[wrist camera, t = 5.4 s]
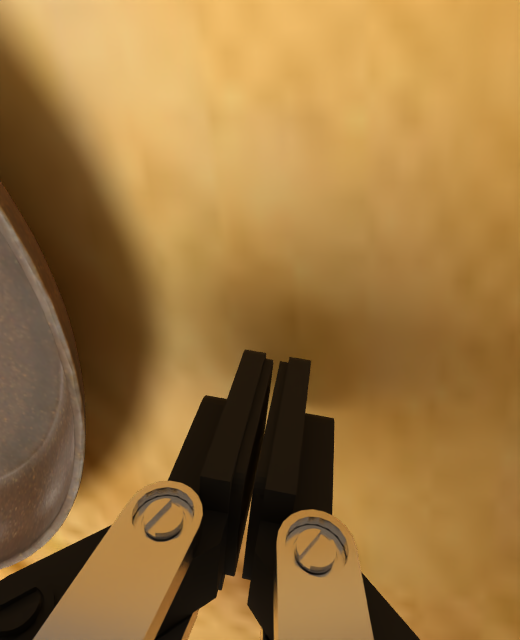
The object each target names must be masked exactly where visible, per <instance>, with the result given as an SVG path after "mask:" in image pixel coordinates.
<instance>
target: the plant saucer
mask: <svg viewBox="0 0 520 640" xmlns="http://www.w3.org/2000/svg"><path fill="white" fill-rule="evenodd" d="M85 438H86V421H85V398H84V387H83V380H82V372H81V367H80V362H79V357H78V352H77V347H76V342H75V338H74V335H73V331H72V328H71V324H70V321H69V317H68V314H67V310H66V308H65V305H64V302H63V300H62V297H61V294H60V292H59V289H58V287H57V285H56V282H55V280H54V278H53V275H52V273H51V271H50V269H49V266H48V264H47V262H46V260H45V258H44V255H43V253H42V251H41V250H40V247H39V245H38V243H37V241H36V239H35V237H34V236H33V234H32V232H31V230H30V228H29V227H28V225H27V223H26V221H25V220H24V218H23V216H22V215H21V213H20V211H19V210H18V208H17V206H16V205H15V203H14V201H13V200H12V198H11V197H10V195H9V193H8V192H7V190H6V189H5V187H4V186H3V184H2V183H1V181H0V569H2V568H5V567H9V566H11V565H13V564H16V563H18V562H20V561H22V560H24V559H25V558H27V557H29V556H30V555H32V554H33V553H34V552H36V551H37V550H38V549H40V548H41V547H43V546H44V545H45V544H46V543H47V542H48V541H49V540H50V539H51V538H52V537H53V536H54V534H55V533H56V532H57V531H58V530H59V528H60V527H61V526H62V524H63V523H64V521H65V519H66V518H67V516H68V514H69V512H70V510H71V508H72V506H73V503H74V501H75V498H76V496H77V493H78V489H79V486H80V482H81V478H82V472H83V464H84V457H85Z"/></svg>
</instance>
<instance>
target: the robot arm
mask: <svg viewBox="0 0 520 640" xmlns="http://www.w3.org/2000/svg"><path fill="white" fill-rule="evenodd" d="M310 365H311V361H310V360H304V359H298V358H292V357H290V358H289V363H287V362H282V361H280V364H279V369H278V374H277V378H276V383H275V387H274V392H273V397H272V401H271V406H270V411H269V415H268V420H267V424H266V417H267V409H268V401H269V393H270V386H271V378H272V370H273V360H270V359H266V353H263V352H257V351H251V350H244V353H243V356H242V358H241V361H240V364H239V367H238V370H237V373H236V375H235V378H234V381H233V384H232V387H231V390H230V392H229V395H228V398H227V399H224V398H218V397H212V396H207V395H206V396H205V397H204V398H203V400H202V402H201V404H200V406H199V409H198V411H197V413H196V416H195V418H194V420H193V423H192V425H191V428H190V430H189V432H188V435H187V437H186V439H185V442H184V444H183V446H182V449H181V451H180V453H179V456H178V458H177V460H176V463H175V465H174V467H173V470H172V472H171V474H170V477H169V479H168V481H159V482H156V483H153V484H150V485H147V486H145V487H144V488H142V489H141V490H139V491H137V492H136V493H135V495H134V496H133V497H132V498H131V499H130V500H129V501H128V503H127V504H126V506H125V507H124V508H123V510H122V511H121V513H120V514H119V516H118V517H117V519H116V520H115V521H114V523H113V524H112V525H111V526H109V527H107V528H105V529H103V530H101V531H99V532H96V533H94V534H92V535H90V536H88V537H86V538H84V539H82V540H80V541H78V542H76V543H74V544H72V545H70V546H68V547H66V548H64V549H62V550H60V551H58V552H56V553H54V554H52V555H50V556H48V557H45V558H43V559H41V560H39V561H37V562H35V563H33V564H31V565H29V566H27V567H25V568H23V569H21V570H19V571H17V572H15V573H13V574H11V575H9V576H7V577H6V578H4V579H2V580H1V581H0V640H188V637H189V635H190V633H191V630H192V628H193V625H194V623H195V621H196V618H197V615H198V611H199V609H200V608H201V607H203V606H204V605H206V604H207V603H209V602H210V601H212V600H213V599H215V598H216V596H217V592H218V590H222V586H223V582H224V578H225V574H226V575H230V576H234V575H235V572H236V567H237V563H238V558H239V553H240V549H241V544H242V539H243V535H244V530H245V525H246V521H247V516H248V511H249V507H250V502H251V509H250V517H249V525H248V533H247V542H246V550H245V558H244V566H243V574H242V578H244V579H248V580H251V582H250V589H249V596H248V603H247V605H248V606H249V608H250V610H251V611H252V613H253V614H254V616H255V618H256V619H257V621H258V622H259V624H260V626H261V632H260V640H420V639H419V638H418V637H417V636H416V634H415V633H414V632H413V631H412V630H411V629H410V628H409V626H408V625H407V624H406V623H405V622H404V621H403V619H402V618H401V617H400V616H399V615H398V614H397V613H396V611H395V610H394V609H393V608H392V607H391V606H390V604H389V603H388V602H387V601H386V600H385V599H384V598H383V596H382V595H381V594H380V593H379V592H378V591H377V590H376V588H375V587H374V586H373V585H372V584H371V583H370V581H369V580H368V579H367V578H366V577H365V576H364V575H363V573H362V572H361V567H360V562H359V557H358V551H357V547H356V544H355V541H354V538H353V536H352V534H351V533H350V531H349V530H348V528H347V527H346V526H345V525H344V524H343V523H342V522H341V521H340V520H339V519H337V518H336V517H334V516H332V500H333V461H334V418H329V417H323V416H318V415H312V414H307V413H305V410H306V401H307V392H308V383H309V374H310ZM265 424H266V429H265ZM264 432H265V434H264ZM251 497H252V500H251Z"/></svg>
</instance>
